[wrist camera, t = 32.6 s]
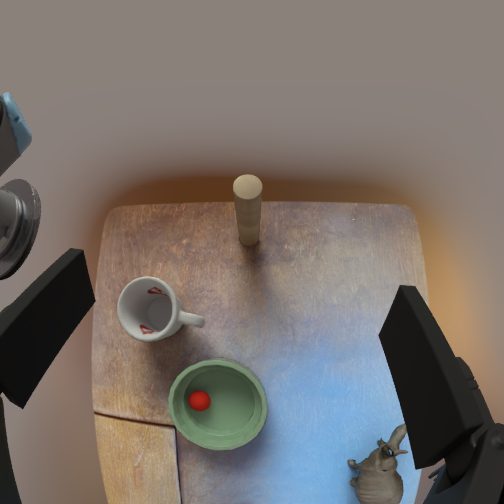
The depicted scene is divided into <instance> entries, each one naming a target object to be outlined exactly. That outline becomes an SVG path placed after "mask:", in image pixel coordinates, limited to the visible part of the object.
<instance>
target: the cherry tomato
mask: <svg viewBox="0 0 504 504" xmlns="http://www.w3.org/2000/svg"><path fill="white" fill-rule="evenodd" d="M188 403H189V405H190V407H191V408H192V409H193V410H195V411H205V410H206V409H208V408H209V406H210V403H211V400H210V397H209V395H208V394H207V393H206V392H204V391H201V390H197V391H194V392H192V393H191V394H190V396H189V398H188Z"/></svg>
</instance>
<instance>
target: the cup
mask: <svg viewBox="0 0 504 504" xmlns="http://www.w3.org/2000/svg"><path fill="white" fill-rule="evenodd" d="M117 312H118V318H119V321H120V324H121V326H122V327H123V329H124V330H125V331H126V332H127V333H128V334H129V335H130V336H131V337H133V338H134V339H137V340H139V341H143V342H153V341H157V340H160V339H163V338H166V337H169V336H171V335H173V334H175V333H176V332H177V331H178V330H179V329H180V328H181V326H182V324H185V325H190V326H195V327H200V328H202V327H203V326H204V324H205V318H204V317H202V316H199V315H195V314H191V313H186V312H185V311H184V307H183V304H182V302H181V300H180V299H179V297H178V296H177V295H176V294H175V292H174V291H173V290H172V289H171V288H170V286H169V285H168V284H166V283H165V282H164V281H162V280H160V279H158V278H155V277H140V278H137V279H135V280H133V281H132V282H130V283H129V284H128V285H127V286H126V287H125V288H124V289H123V291H122V293H121V295H120V297H119V300H118V307H117Z"/></svg>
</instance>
